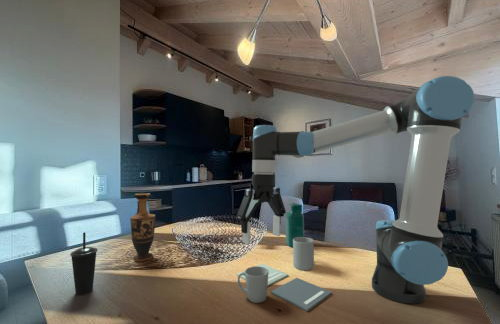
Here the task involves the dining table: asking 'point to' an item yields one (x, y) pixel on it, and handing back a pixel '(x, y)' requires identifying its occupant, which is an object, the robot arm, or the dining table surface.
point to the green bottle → (294, 223)
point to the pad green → (270, 274)
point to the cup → (255, 283)
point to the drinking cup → (83, 268)
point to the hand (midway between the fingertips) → (262, 239)
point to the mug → (303, 253)
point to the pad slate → (301, 293)
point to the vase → (142, 229)
